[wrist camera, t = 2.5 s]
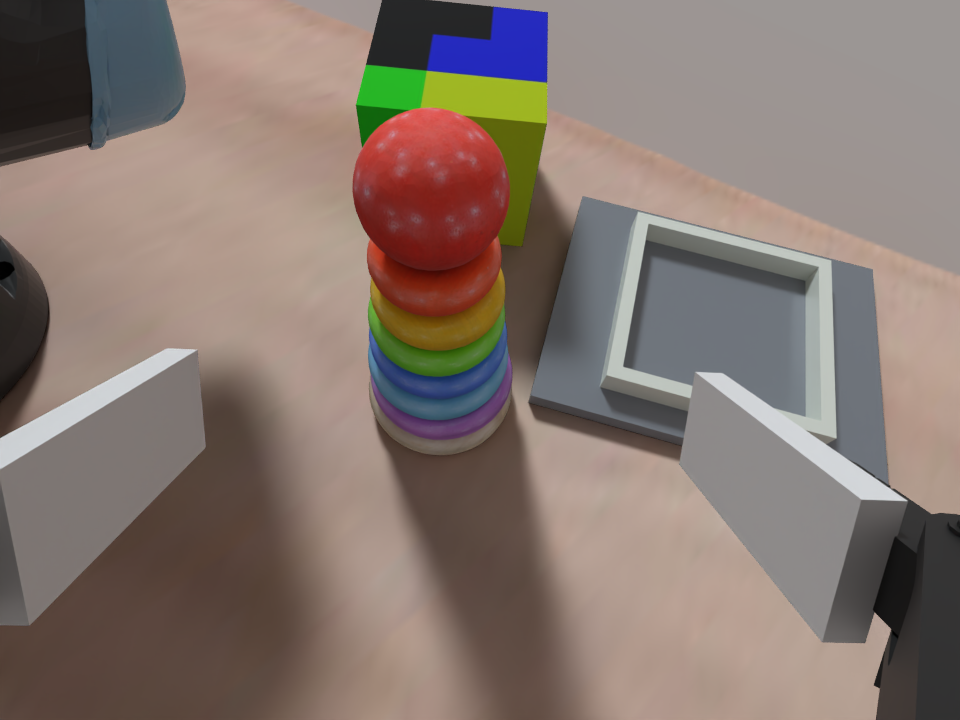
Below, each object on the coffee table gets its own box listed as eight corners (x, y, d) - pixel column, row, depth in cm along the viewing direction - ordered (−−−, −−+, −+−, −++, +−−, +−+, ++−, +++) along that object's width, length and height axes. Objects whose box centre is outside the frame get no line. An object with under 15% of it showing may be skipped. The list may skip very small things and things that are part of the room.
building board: (528, 402, 33) (534, 383, 31) (579, 206, 41) (587, 180, 38) (876, 500, 32) (909, 488, 29) (862, 278, 39) (888, 255, 37)
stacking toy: (399, 320, 35) (366, 15, 19) (524, 357, 35) (602, 74, 18) (349, 434, 31) (251, 179, 15) (487, 478, 31) (543, 261, 14)
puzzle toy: (525, 144, 43) (547, 12, 35) (522, 247, 39) (546, 123, 30) (394, 132, 43) (383, -5, 34) (374, 233, 38) (355, 104, 30)
